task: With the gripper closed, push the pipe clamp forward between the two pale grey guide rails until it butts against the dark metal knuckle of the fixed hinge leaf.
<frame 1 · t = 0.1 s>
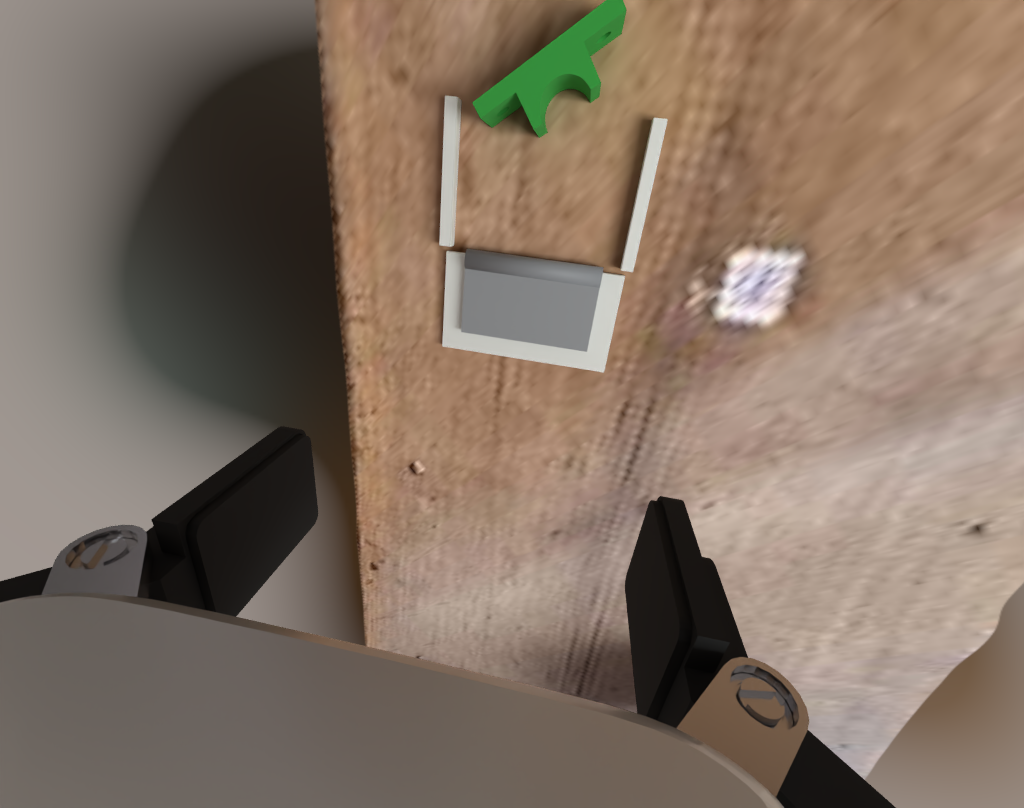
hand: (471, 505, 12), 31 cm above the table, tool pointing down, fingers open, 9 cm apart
hinge base: (535, 256, 39), on the table
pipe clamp: (556, 93, 34), on the table
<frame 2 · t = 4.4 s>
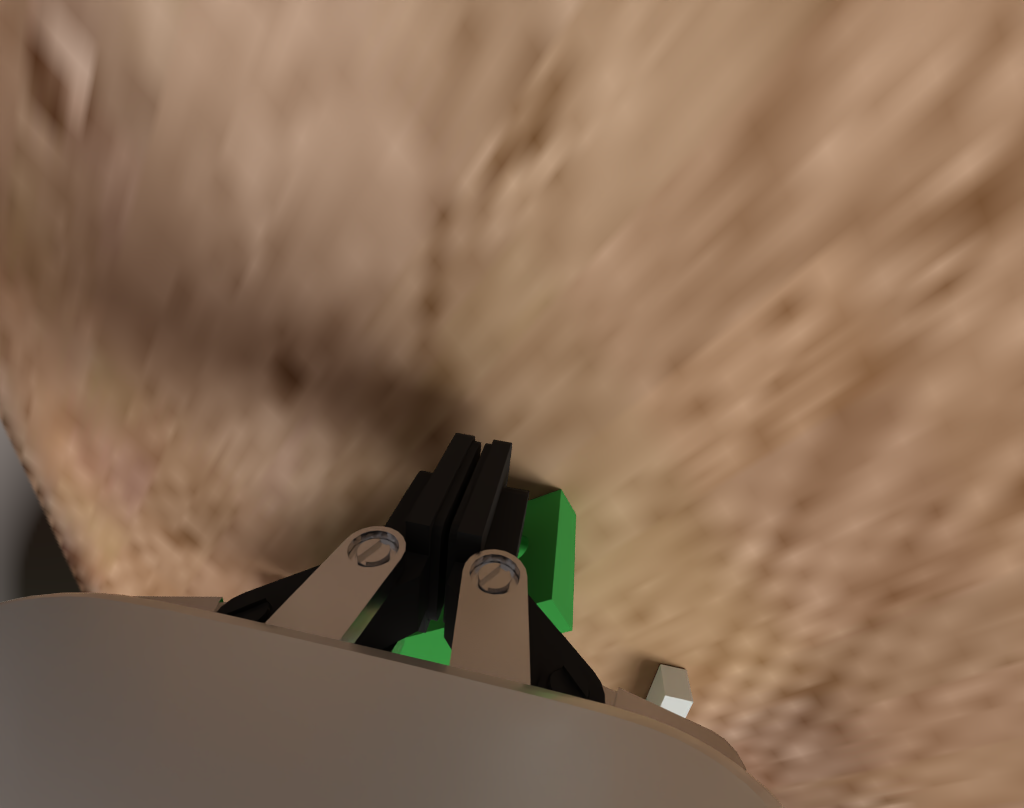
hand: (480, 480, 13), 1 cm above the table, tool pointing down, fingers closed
hinge base: (457, 765, 22), on the table
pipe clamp: (450, 565, 17), on the table, touching gripper
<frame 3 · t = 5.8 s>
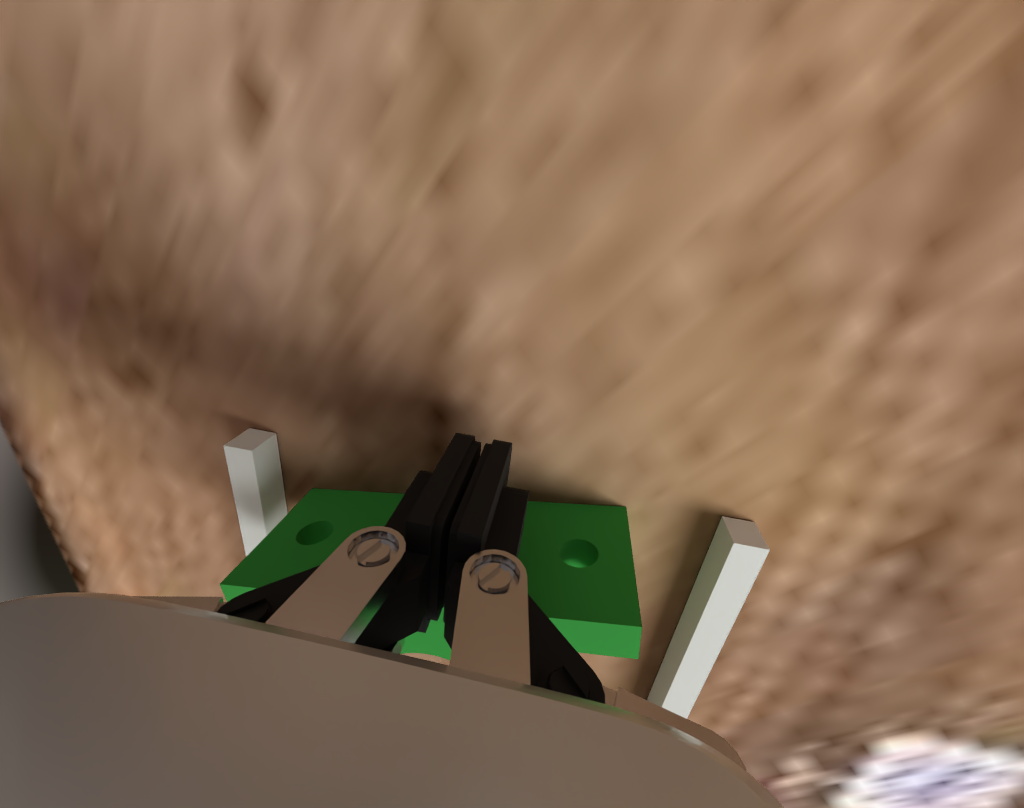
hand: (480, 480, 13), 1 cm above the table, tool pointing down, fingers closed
hinge base: (466, 679, 19), on the table
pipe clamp: (463, 532, 16), on the table, touching gripper
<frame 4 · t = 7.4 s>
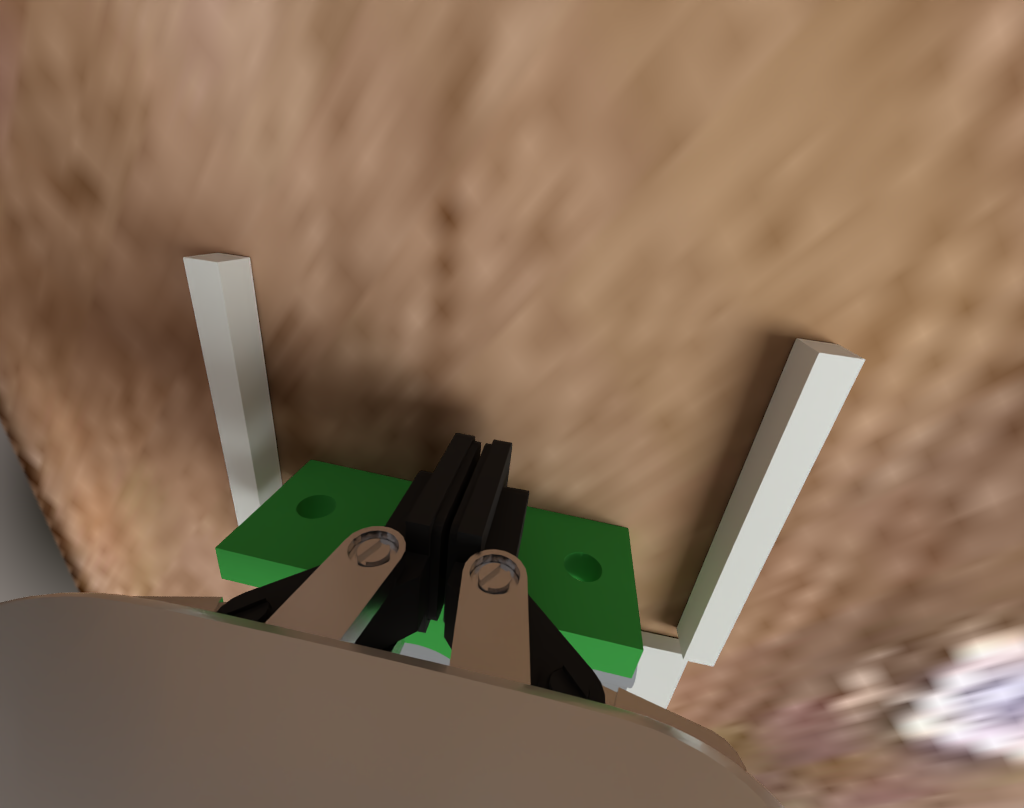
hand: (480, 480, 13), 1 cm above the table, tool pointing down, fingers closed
hinge base: (475, 586, 16), on the table
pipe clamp: (460, 525, 16), on the table, touching gripper
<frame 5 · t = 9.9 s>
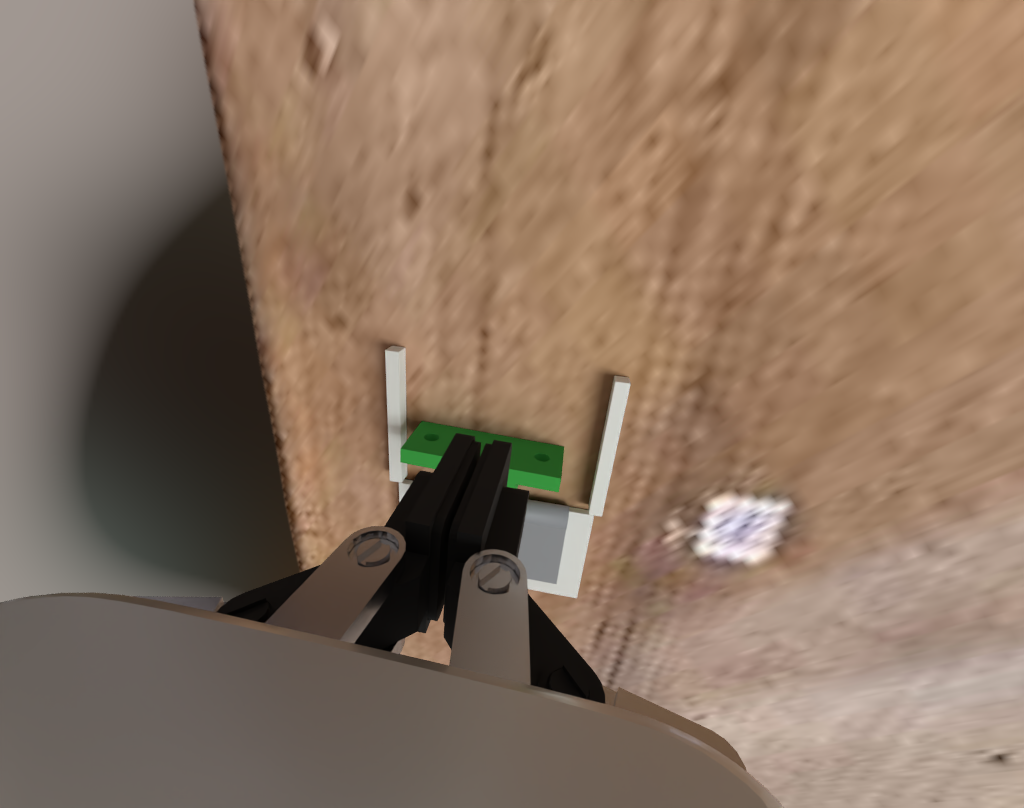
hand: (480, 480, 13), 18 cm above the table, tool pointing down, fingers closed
hinge base: (495, 489, 35), on the table
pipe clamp: (489, 450, 34), on the table
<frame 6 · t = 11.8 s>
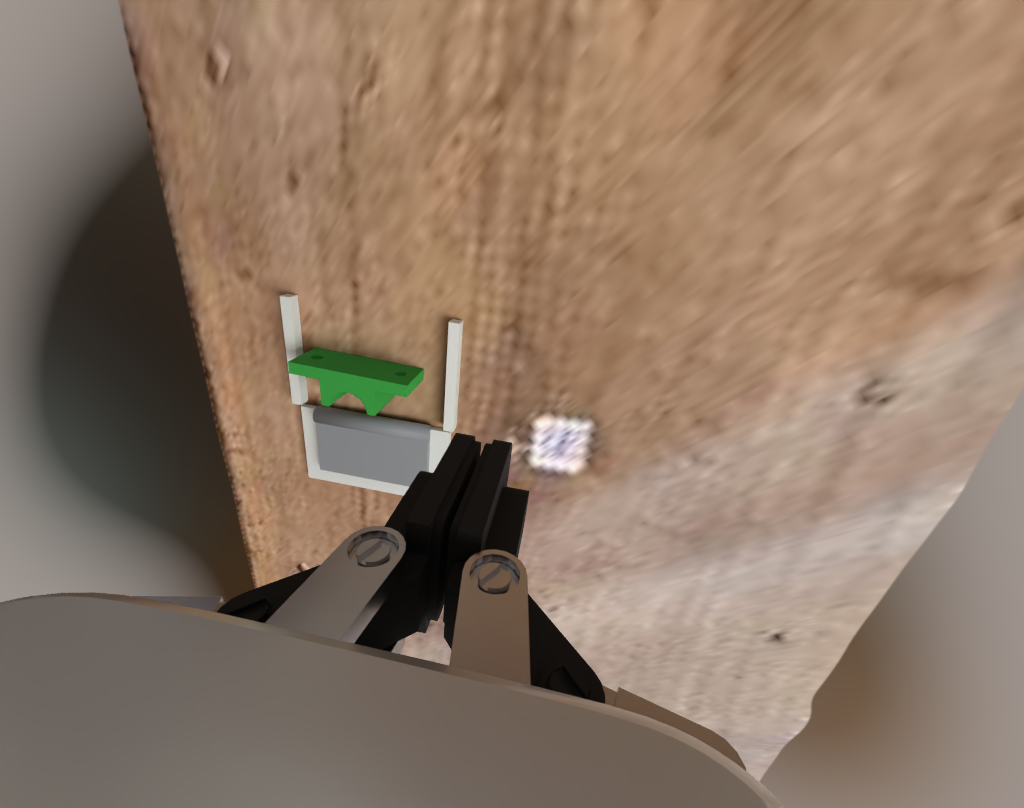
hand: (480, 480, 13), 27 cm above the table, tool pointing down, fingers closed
hinge base: (376, 412, 45), on the table
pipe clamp: (369, 373, 43), on the table
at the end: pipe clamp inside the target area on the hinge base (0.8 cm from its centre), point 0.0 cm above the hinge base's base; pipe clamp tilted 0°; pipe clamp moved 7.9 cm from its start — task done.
